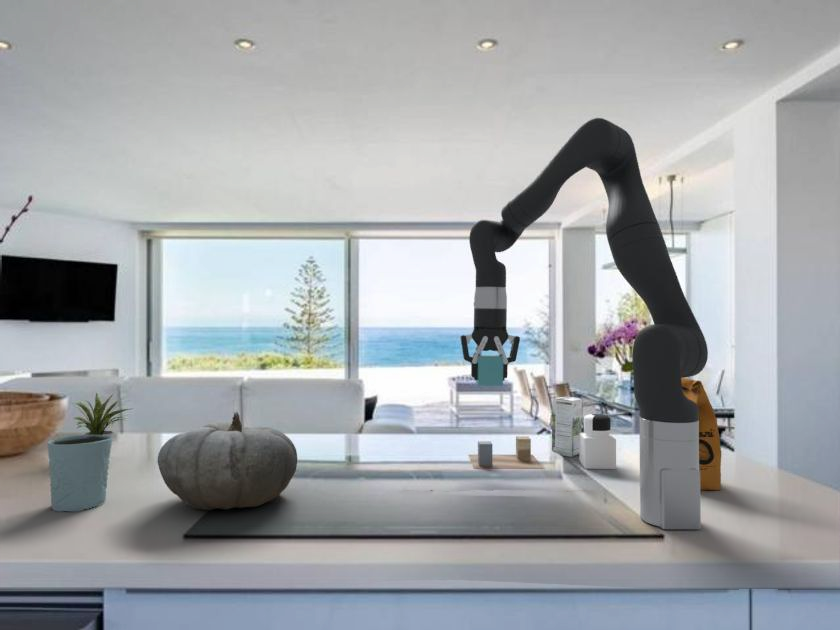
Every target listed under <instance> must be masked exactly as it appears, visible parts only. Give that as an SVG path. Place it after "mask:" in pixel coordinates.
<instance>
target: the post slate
mask: <svg viewBox="0 0 840 630" xmlns="http://www.w3.org/2000/svg"><path fill="white" fill-rule="evenodd" d="M477 455H478V464H479V466H492V455H493V443H492V441H491V440H488V441H487V440H483V441H482V440H481V441H479V440H478V441H477Z"/></svg>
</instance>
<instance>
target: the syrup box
mask: <svg viewBox="0 0 840 630" xmlns="http://www.w3.org/2000/svg"><path fill="white" fill-rule="evenodd" d="M551 409H552V412H551V414H552V417H551V419H552V420H551V421H552V423H551V451H552V452H556V453H558V454H559V455H560V456H561V457H567V458H573V457H576V456H579V434H580V433H583V431H582V425H583V424H582V423H583V422H582V421H583V419H582V416H583V415H582V414H583V413H582V412H583V410H582V409H583V400H582V398H578V397H574V396H561V397H555V398H553V399H552V408H551Z"/></svg>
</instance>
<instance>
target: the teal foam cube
mask: <svg viewBox="0 0 840 630" xmlns="http://www.w3.org/2000/svg"><path fill="white" fill-rule="evenodd" d="M477 364H478V380H475V383H476V384H477V386H480V387H481V386H483V387H484V386H485V387H487V386H489V387H490V386H491V387H503V385H504V381H503V356H499V354H481V355H480V356H478V361H477Z"/></svg>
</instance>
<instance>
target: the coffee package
mask: <svg viewBox="0 0 840 630" xmlns="http://www.w3.org/2000/svg"><path fill="white" fill-rule="evenodd" d="M681 381H682V390H683V393H684V395H685V396H686V397H687V398H688V399H690V400H692V401H694V402H695V403H696V404H697V405H698V409H699V471H700V491H705V490H706V491H721V490H722V483H721V481H722V473H721V469H722V468H721V466H722V447H721V442H720V441H721V440H720V433H719V427H718V419H717V417H716V414H715V411H714V408H713V406H712V404H711V403H710V402H711V401H710V399H709V396H708V395H707V392H706V390H705V388H704V385H703V382H702V381H701V380H695V379H691V378H688V377H683V378H681Z"/></svg>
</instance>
